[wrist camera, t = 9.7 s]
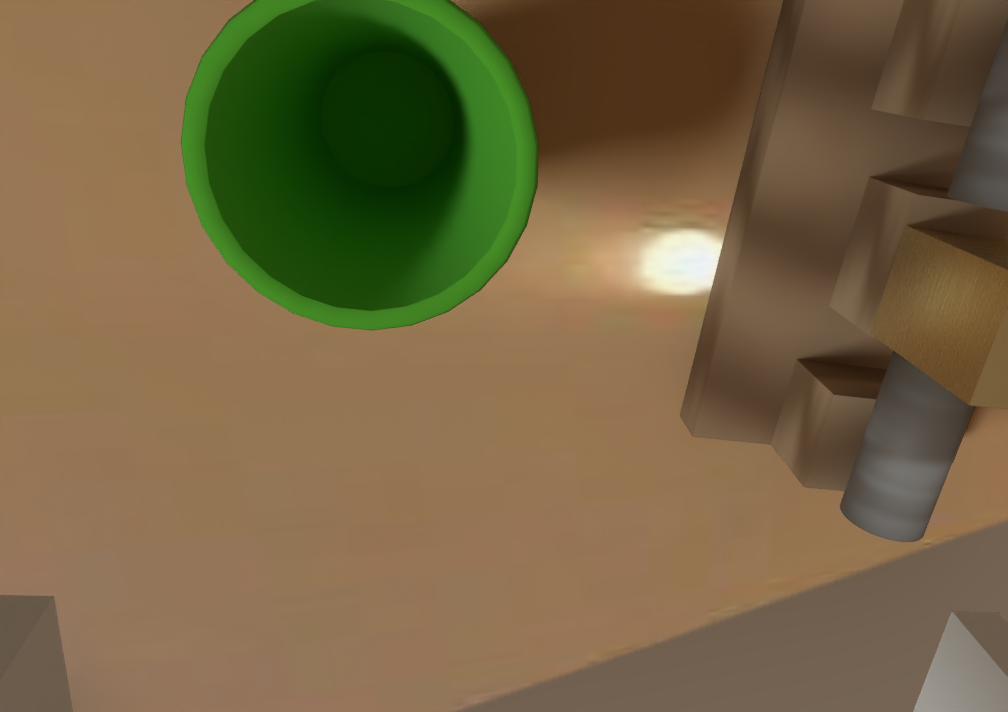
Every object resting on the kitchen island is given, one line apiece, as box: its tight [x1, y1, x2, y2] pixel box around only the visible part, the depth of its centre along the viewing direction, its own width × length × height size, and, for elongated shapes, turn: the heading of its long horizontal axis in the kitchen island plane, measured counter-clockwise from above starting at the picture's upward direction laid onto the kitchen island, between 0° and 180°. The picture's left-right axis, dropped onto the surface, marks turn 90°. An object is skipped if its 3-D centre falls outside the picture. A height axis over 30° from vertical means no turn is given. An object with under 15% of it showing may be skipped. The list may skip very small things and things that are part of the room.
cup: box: [181, 0, 539, 330], centre depth 26 cm, size 9×9×11 cm
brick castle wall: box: [680, 0, 1008, 542], centre depth 30 cm, size 18×12×8 cm, turn 172°
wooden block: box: [870, 226, 1008, 409], centre depth 26 cm, size 4×4×6 cm
